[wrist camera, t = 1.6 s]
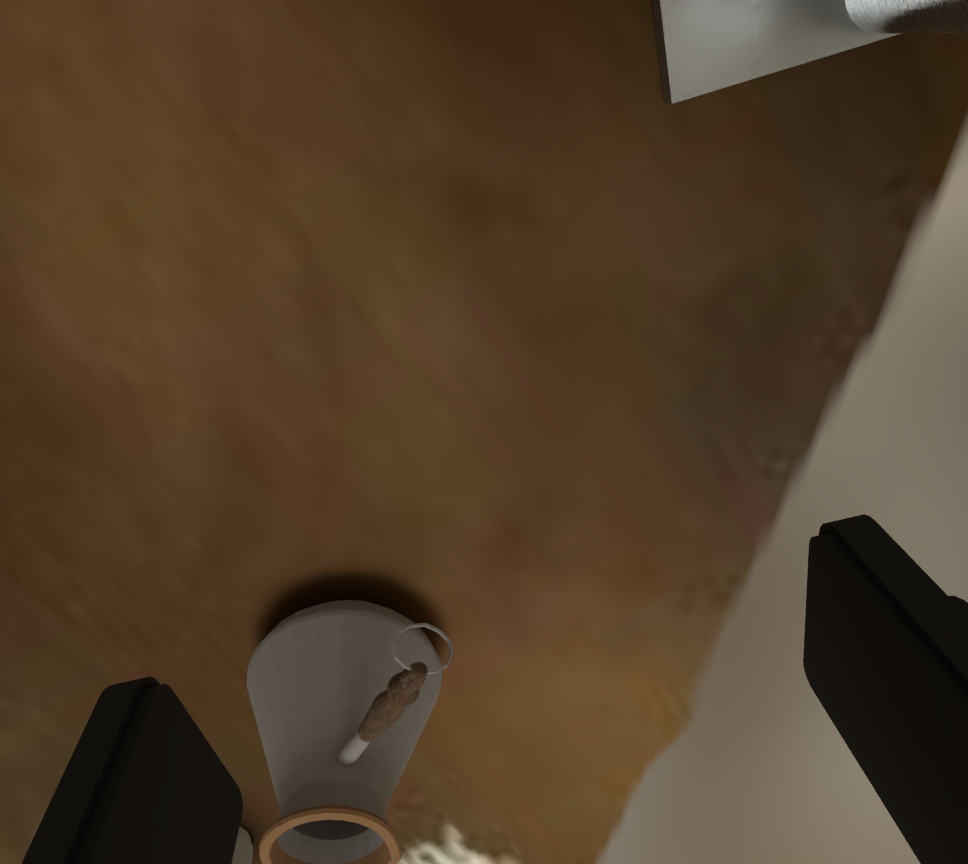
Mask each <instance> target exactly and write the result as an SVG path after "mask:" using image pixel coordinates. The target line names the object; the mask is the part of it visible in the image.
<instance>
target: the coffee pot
mask: <svg viewBox="0 0 968 864" xmlns="http://www.w3.org/2000/svg"><path fill="white" fill-rule="evenodd" d="M419 627H426V628H428V629H430V630H432V631H435V632H437V633H438V634H439V635H440V636H441V637H442V638H443V639H444V640H445V641H446V642H447V643H448V647H449V652H450V656H449V658H448V660H447V663H446V665H444V666H442V667H441V663H440V659H439V657H438V655H437V653H436V651H435V649H434V647H433V645H432V644H431V642H430V640H429V639H428V637H427V636H426V634H425V633H424V632H423V631H422V630H421V629H420V628H419ZM453 654H454V652H453V647H452V643H451V640H450V639H449V638H448V637H447V636H446V635H445V634H444V633H443V632H442V631H441V630H440V629H438V628H436V627H434V626H432V625H430V624H427V623H418V624H415V623H413V622H412V621H411V620H410V619H408V618H406V617H404V616H403V615H401V614H399V613H397V612H395V611H394V610H392V609H389V608H386V607H383V606H380V605H377V604H374V603H370V602H367V601H359V600H340V601H331V602H326V603H322V604H319V605H316V606H312V607H309V608H306V609H303V610H300V611H298V612H296V613H294V614H292V615H291V616H289V617H287V618H286V619H284V620H282V621H281V622H279V623H278V624H277V625H276V627H275V628H274V629H273V630H272V631H271V632H270V633H269V634H268V635H267V636H266V637H265V638H264V639H263V640H262V641H261V642H260V643H259V644H258V645H257V647H256V649H255V651H254V654H253V656H252V658H251V660H250V662H249V664H248V673H247V689H248V693H249V697H250V700H251V704H252V708H253V711H254V715H255V719H256V722H257V726H258V730H259V734H260V737H261V741H262V745H263V748H264V752H265V756H266V760H267V763H268V767H269V771H270V774H271V778H272V782H273V785H274V789H275V793H276V797H277V800H278V804H279V808H280V811H279V814H278V816H277V819H276V821H275V822H274V823H273V824H272V825H271V826H270V827H269V828H268V829H267V830H266V832H265V834H264V836H263V837H262V839H261V841H260V845H259V856H260V859H261V861H262V864H395V863H397V862H398V861H399V860H400V859H401V856H402V855H401V850H400V845H399V842H398V839H397V837H396V834H395V832H394V831H393V829H392V828H391V826H390V825H389V824H388V822H387V818H386V815H385V810H386V808H387V805H388V803H389V801H390V799H391V797H392V795H393V793H394V790H395V788H396V786H397V784H398V782H399V780H400V778H401V776H402V773H403V771H404V769H405V767H406V765H407V763H408V761H409V759H410V756H411V754H412V752H413V750H414V748H415V746H416V744H417V741H418V739H419V737H420V735H421V733H422V731H423V729H424V727H425V724H426V722H427V720H428V718H429V716H430V714H431V712H432V709H433V707H434V705H435V703H436V701H437V699H438V695H439V691H440V687H441V683H442V672H441V670H443V669H445V668H447V667H448V666H449V664H450V661H451V659H452V656H453Z"/></svg>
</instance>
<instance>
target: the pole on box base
mask: <svg viewBox="0 0 968 864" xmlns="http://www.w3.org/2000/svg"><path fill="white" fill-rule="evenodd" d="M652 6H653V14H654V22H655V31H656V39H657V47H658V55H659V64H660V72H661V80H662V88H663V97H664V102H667V103H671V104H673V103H676V102H679V101H682V100H686V99H689V98H692V97H695V96H699V95H702V94H705V93H709V92H712V91H715V90H718V89H722V88H725V87H728V86H731V85H735V84H738V83H741V82H744V81H748V80H751V79H754V78H757V77H761V76H764V75H767V74H771V73H774V72H777V71H780V70H784V69H787V68H790V67H793V66H797V65H800V64H803V63H806V62H810V61H813V60H816V59H819V58H823V57H826V56H829V55H832V54H836V53H839V52H842V51H846V50H849V49H852V48H855V47H859V46H862V45H865V44H868V43H872V42H875V41H878V40H881V39H885V38H888V37H891V36H894V35H898V34H901V33H964V32H968V0H652Z"/></svg>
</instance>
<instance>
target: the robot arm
mask: <svg viewBox="0 0 968 864" xmlns="http://www.w3.org/2000/svg"><path fill="white" fill-rule="evenodd" d="M803 663H804V670H805V673H806V676H807V679H808V681H809V684H810V686H811V688H812V689H813V691H814V693H815V694H816V696H817V697H818V699H819V700H820V702H821V704H822V705H823V707H824V709H825V710H826V712H827V713H828V715H829V717H830V718H831V720H832V722H833V723H834V725H835V726H836V728H837V730H838V731H839V733H840V734H841V736H842V738H843V739H844V741H845V742H846V744H847V746H848V747H849V749H850V750H851V752H852V754H853V755H854V757H855V759H856V760H857V762H858V763H859V765H860V767H861V768H862V770H863V771H864V773H865V775H866V776H867V778H868V780H869V781H870V783H871V784H872V786H873V787H874V789H875V791H876V792H877V794H878V796H879V797H880V799H881V800H882V802H883V803H884V805H885V807H886V808H887V810H888V812H889V813H890V815H891V817H892V818H893V820H894V821H895V823H896V825H897V826H898V827H899V829H900V831H901V833H902V834H903V836H904V837H905V839H906V841H907V842H908V844H909V845H910V847H911V849H912V850H913V852H914V854H915V855H916V857H917V858H918V860H919V861H920V863H921V864H968V603H967V602H966V601H964V600H962V599H960V598H958V597H956V596H947V595H946V594H945V592H943V591H942V589H941V588H940V587H939V586H938V585H937V584H936V583H935V582H934V581H933V580H932V579H931V578H930V577H929V576H928V575H927V574H926V573H925V572H924V571H923V570H922V569H921V568H920V567H919V566H918V565H917V564H916V563H915V561H914V560H913V559H912V558H911V557H910V556H909V555H908V554H907V553H906V552H905V551H904V550H903V549H902V548H901V547H900V546H899V545H898V544H897V543H896V542H895V541H894V540H893V539H892V538H891V537H890V536H889V535H888V534H887V533H886V532H885V531H884V529H883V528H881V526H880V525H879V524H878V523H877V522H876V521H875V520H873V519H872V518H871V517H870V516H867V515H860V516H855V517H851V518H846V519H842V520H838V521H833V522H829V523H825V524H822V526H821V527H820V531H819V536H815V537H812V538H811V539H810V542H809V557H808V579H807V598H806V618H805V638H804V658H803ZM242 810H243V802H242V795H241V791H240V789H239V787H238V786H237V784H236V783H235V781H234V780H233V778H232V777H231V775H230V774H229V772H228V771H227V769H226V768H225V766H224V765H223V763H222V762H221V761H220V759H219V758H218V756H217V755H216V753H215V752H214V750H213V749H212V747H211V746H210V744H209V743H208V741H207V740H206V739H205V737H204V736H203V734H202V733H201V731H200V730H199V728H198V727H197V725H196V724H195V722H194V721H193V719H192V718H191V717H190V715H189V714H188V712H187V711H186V709H185V708H184V706H183V705H182V703H181V702H180V700H179V699H178V697H177V696H176V695H175V693H174V692H173V690H172V689H171V688H170V687H169V686H168V685H166V684H162V685H160V683H159V682H158V681H157V680H156V679H155V678H152V677H146V678H141V679H137V680H133V681H128V682H124V683H119V684H115V685H111V686H108V687H107V688H106V689H104V691H103V692H102V694H101V695H100V697H99V699H98V701H97V703H96V705H95V708H94V710H93V712H92V714H91V716H90V718H89V720H88V723H87V725H86V727H85V729H84V731H83V733H82V735H81V738H80V740H79V742H78V744H77V746H76V748H75V750H74V753H73V755H72V757H71V759H70V761H69V763H68V765H67V768H66V770H65V772H64V774H63V776H62V778H61V780H60V783H59V785H58V787H57V789H56V791H55V793H54V795H53V798H52V800H51V802H50V804H49V806H48V808H47V810H46V813H45V815H44V817H43V819H42V821H41V823H40V825H39V828H38V830H37V832H36V834H35V836H34V838H33V840H32V843H31V845H30V847H29V849H28V851H27V853H26V855H25V858H24V860H23V862H22V864H232V859H233V855H234V850H235V845H236V841H237V836H238V831H239V826H240V822H241V817H242Z"/></svg>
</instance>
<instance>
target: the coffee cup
mask: <svg viewBox="0 0 968 864" xmlns="http://www.w3.org/2000/svg"><path fill="white" fill-rule="evenodd" d="M252 857H253V846H252V843H251V838H250V836H249V834H248V832H247V831H246V830H245V829H244V828H242V827H240V826H239V831H238V836H237V841H236V845H235V850H234V855H233V859H232V864H252Z"/></svg>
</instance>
